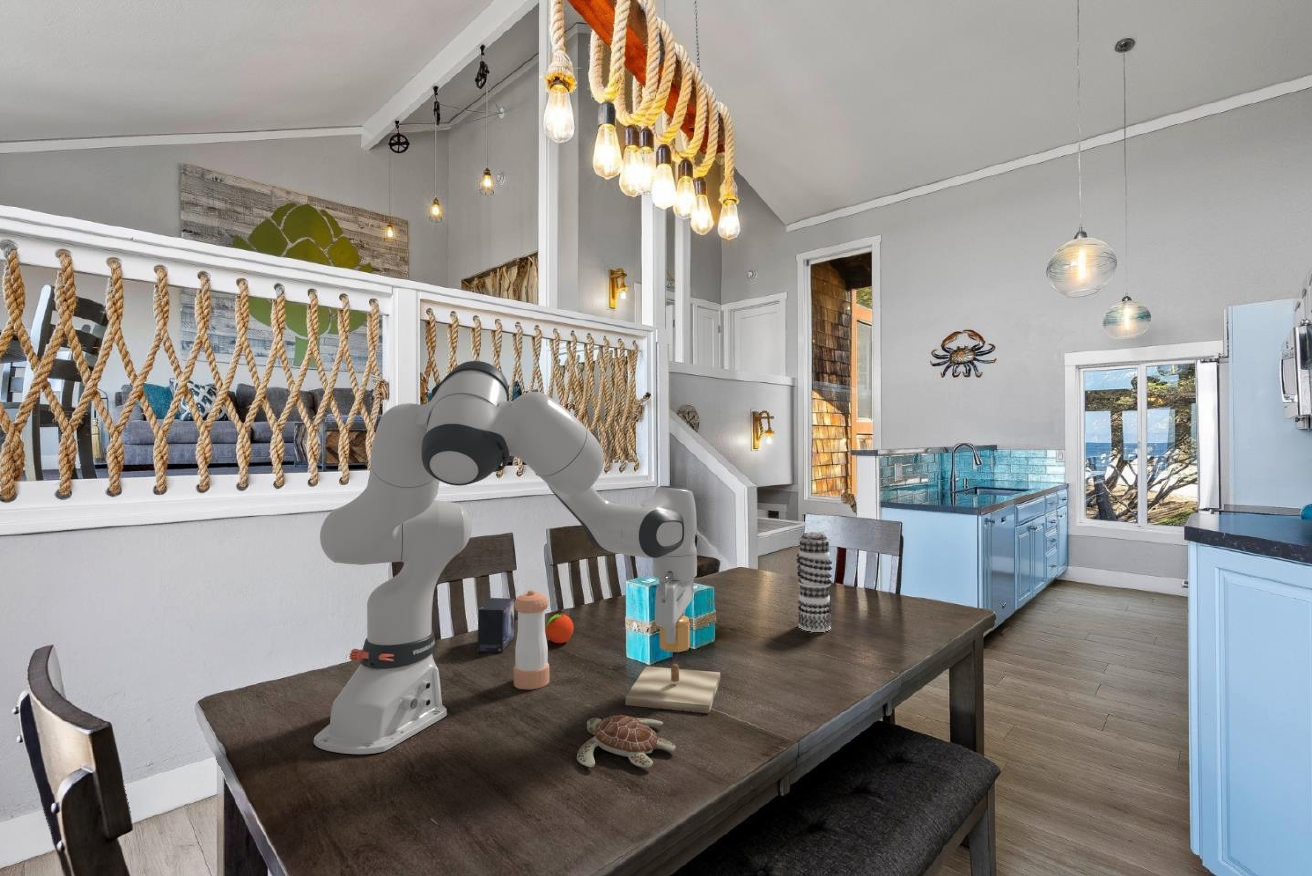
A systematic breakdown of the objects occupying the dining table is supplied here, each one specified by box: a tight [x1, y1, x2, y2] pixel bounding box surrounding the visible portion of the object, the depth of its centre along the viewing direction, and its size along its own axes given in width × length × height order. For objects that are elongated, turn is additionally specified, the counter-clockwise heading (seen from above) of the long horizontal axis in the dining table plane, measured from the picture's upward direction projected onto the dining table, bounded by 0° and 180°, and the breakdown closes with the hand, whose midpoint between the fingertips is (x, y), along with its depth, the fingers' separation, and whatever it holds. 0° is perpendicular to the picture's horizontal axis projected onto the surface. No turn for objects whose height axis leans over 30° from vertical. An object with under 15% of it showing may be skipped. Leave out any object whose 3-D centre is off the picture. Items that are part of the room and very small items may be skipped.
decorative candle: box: [796, 531, 833, 633], centre depth 162 cm, size 9×9×25 cm
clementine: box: [545, 613, 575, 644], centre depth 151 cm, size 8×7×7 cm
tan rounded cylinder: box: [659, 615, 691, 653], centre depth 121 cm, size 6×6×6 cm
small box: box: [477, 597, 515, 654], centre depth 149 cm, size 11×6×10 cm, turn 179°
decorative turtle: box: [576, 714, 676, 768], centre depth 100 cm, size 18×17×5 cm
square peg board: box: [624, 663, 721, 714], centre depth 122 cm, size 16×16×6 cm
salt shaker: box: [513, 589, 550, 690], centre depth 127 cm, size 7×7×19 cm
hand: (674, 636), depth 122 cm, fingers closed on tan rounded cylinder, 6 cm apart
